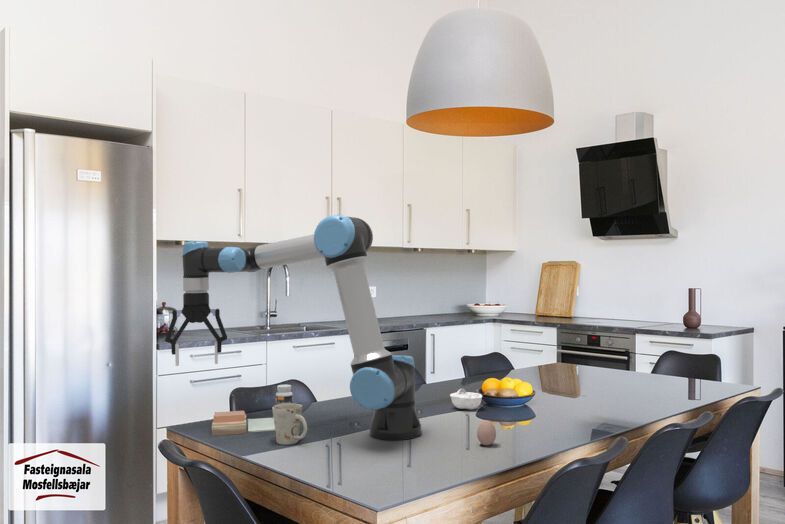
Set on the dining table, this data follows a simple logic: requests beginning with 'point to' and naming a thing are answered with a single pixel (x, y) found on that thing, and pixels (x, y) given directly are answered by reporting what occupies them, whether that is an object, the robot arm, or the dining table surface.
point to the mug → (288, 423)
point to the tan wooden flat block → (229, 428)
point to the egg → (486, 433)
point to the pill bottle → (284, 394)
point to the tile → (229, 416)
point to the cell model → (466, 399)
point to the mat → (261, 425)
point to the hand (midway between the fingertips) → (196, 364)
